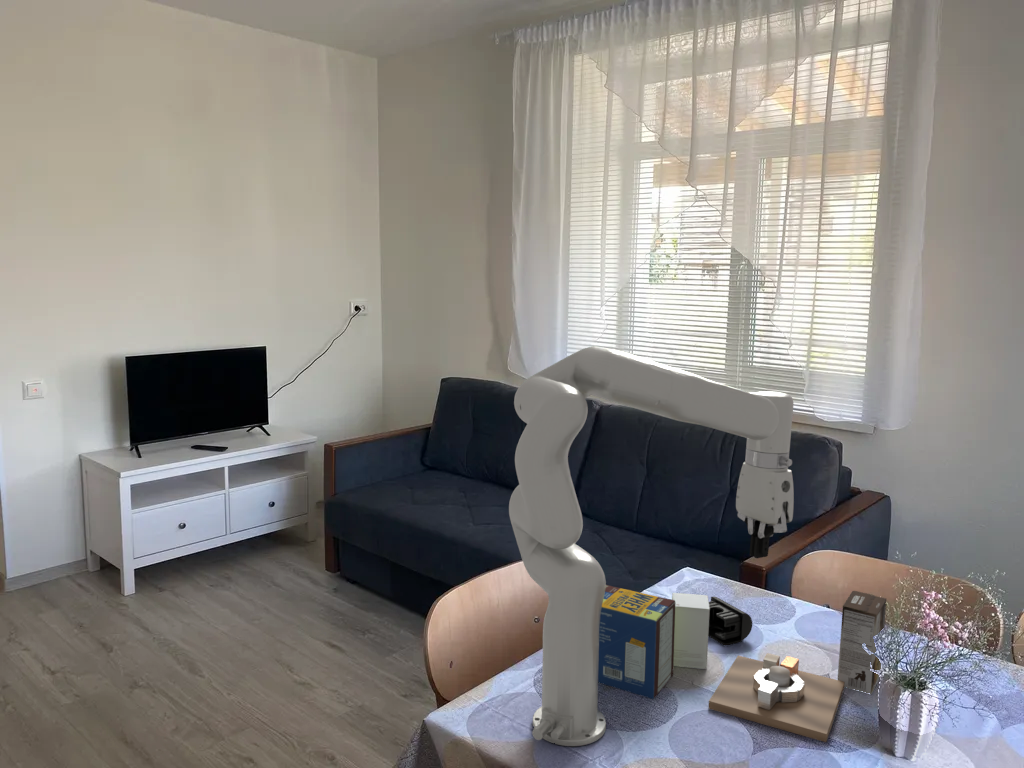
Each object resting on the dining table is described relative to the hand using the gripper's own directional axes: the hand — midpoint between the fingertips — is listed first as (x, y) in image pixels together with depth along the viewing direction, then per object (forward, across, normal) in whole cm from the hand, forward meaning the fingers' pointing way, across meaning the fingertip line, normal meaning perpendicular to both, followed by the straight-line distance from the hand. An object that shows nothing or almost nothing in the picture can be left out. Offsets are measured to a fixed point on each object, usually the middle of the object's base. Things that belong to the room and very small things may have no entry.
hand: (758, 555), depth 148 cm
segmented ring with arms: (+24, -6, -2) cm, 25 cm away
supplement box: (+26, +14, +2) cm, 30 cm away
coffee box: (+25, -9, -21) cm, 34 cm away
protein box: (+27, +14, +18) cm, 35 cm away
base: (+26, -6, -2) cm, 26 cm away
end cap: (+26, +18, -12) cm, 34 cm away
